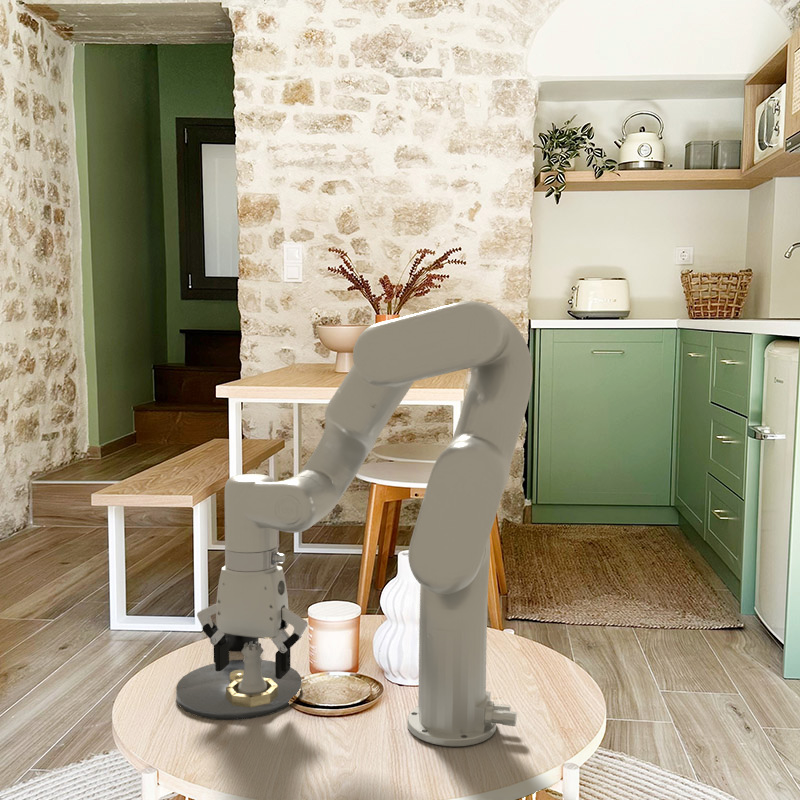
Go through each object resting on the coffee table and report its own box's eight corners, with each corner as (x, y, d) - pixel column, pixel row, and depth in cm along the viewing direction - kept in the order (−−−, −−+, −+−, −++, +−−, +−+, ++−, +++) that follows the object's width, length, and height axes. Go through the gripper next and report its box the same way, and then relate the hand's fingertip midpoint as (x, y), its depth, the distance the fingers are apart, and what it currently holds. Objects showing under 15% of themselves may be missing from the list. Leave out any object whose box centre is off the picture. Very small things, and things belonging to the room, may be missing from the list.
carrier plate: (319, 675, 140) (319, 657, 140) (270, 727, 122) (270, 706, 122) (213, 662, 145) (213, 645, 145) (152, 710, 127) (151, 690, 127)
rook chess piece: (252, 705, 125) (251, 652, 125) (231, 697, 128) (230, 645, 127) (274, 695, 129) (273, 643, 128) (253, 687, 132) (253, 636, 131)
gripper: (315, 557, 128) (315, 668, 130) (210, 548, 133) (211, 656, 134) (295, 570, 121) (296, 688, 122) (185, 560, 126) (187, 674, 127)
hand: (251, 671), depth 128 cm, fingers open, 9 cm apart
